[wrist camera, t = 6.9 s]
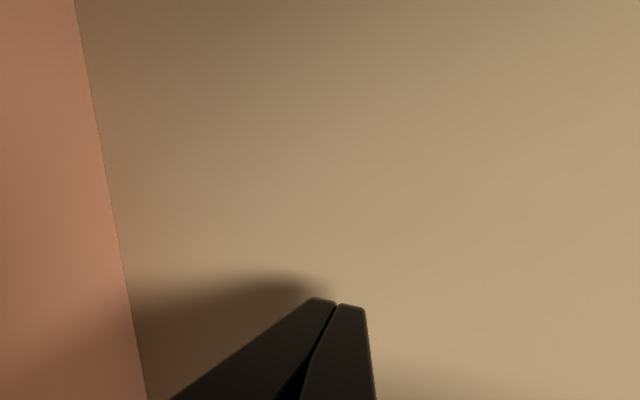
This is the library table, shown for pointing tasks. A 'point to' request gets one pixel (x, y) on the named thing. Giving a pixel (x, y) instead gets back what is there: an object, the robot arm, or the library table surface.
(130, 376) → the t block
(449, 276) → the library table surface
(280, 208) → the library table surface
